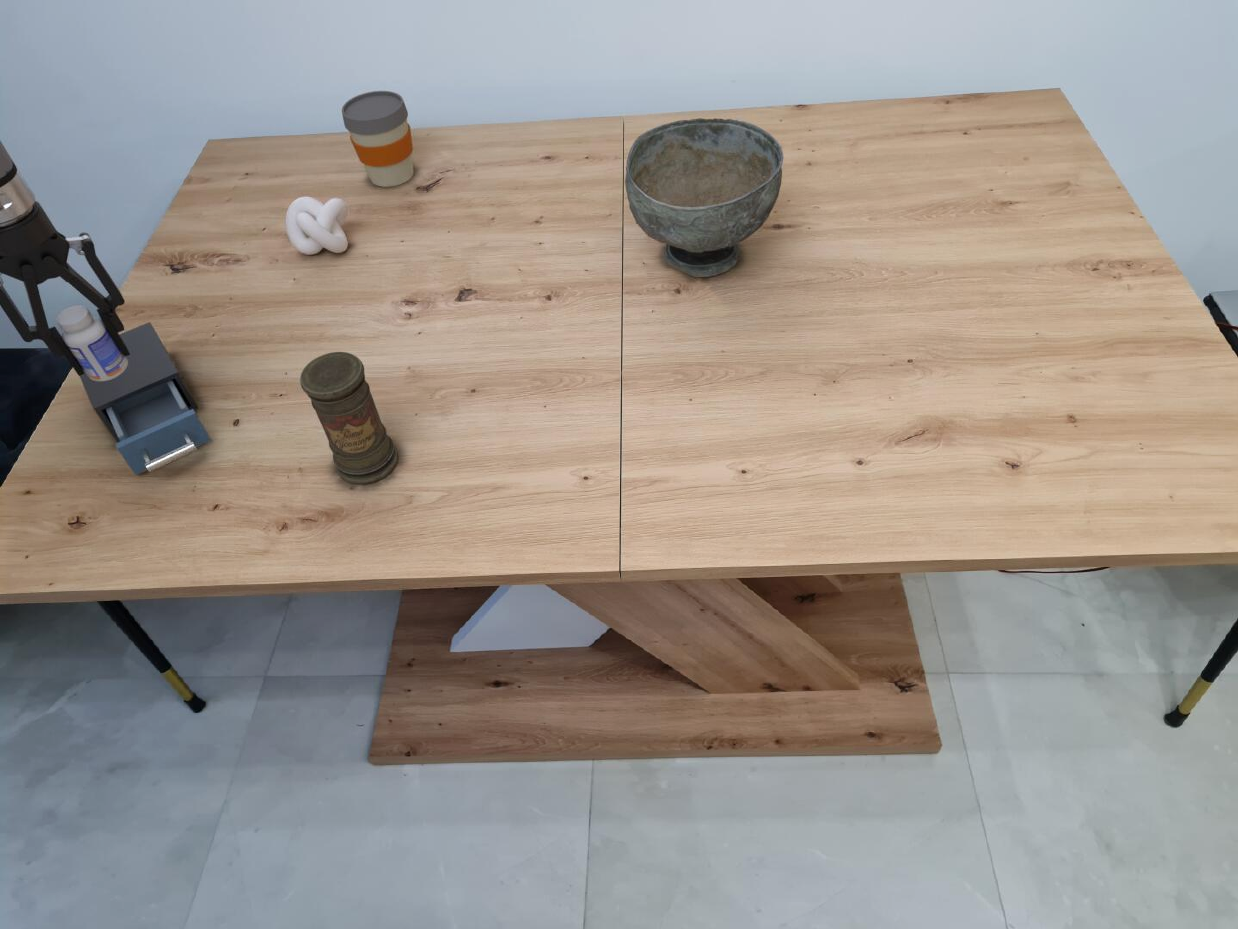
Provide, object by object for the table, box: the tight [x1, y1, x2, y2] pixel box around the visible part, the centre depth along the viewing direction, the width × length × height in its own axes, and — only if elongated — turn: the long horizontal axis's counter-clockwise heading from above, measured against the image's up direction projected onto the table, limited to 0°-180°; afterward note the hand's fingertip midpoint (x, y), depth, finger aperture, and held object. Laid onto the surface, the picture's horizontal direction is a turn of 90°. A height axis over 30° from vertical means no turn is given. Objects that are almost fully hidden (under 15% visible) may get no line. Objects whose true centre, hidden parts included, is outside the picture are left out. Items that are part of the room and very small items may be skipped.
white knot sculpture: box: [285, 196, 349, 256], centre depth 167 cm, size 11×12×9 cm
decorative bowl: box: [624, 117, 784, 278], centre depth 153 cm, size 26×26×20 cm
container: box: [299, 351, 399, 486], centre depth 125 cm, size 9×9×18 cm
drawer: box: [105, 380, 212, 476], centre depth 135 cm, size 19×11×6 cm, turn 35°
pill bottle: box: [56, 305, 128, 381], centre depth 121 cm, size 5×5×10 cm
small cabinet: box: [79, 321, 199, 443], centre depth 142 cm, size 16×13×8 cm
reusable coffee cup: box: [341, 90, 414, 188], centre depth 181 cm, size 13×13×15 cm
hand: (102, 359), depth 123 cm, fingers closed on pill bottle, 5 cm apart
